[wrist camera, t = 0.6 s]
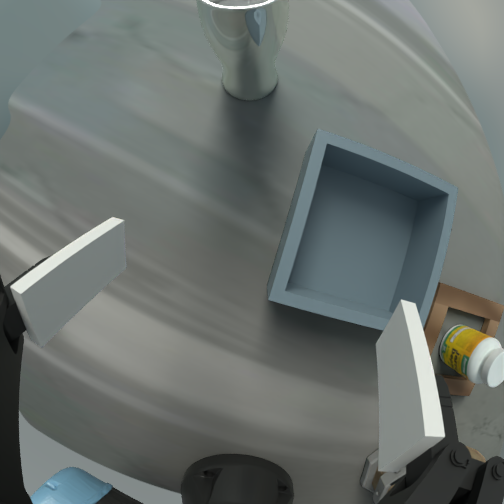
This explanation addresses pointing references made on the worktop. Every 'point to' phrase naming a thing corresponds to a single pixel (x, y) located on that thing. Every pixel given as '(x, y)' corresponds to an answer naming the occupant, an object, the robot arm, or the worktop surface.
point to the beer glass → (245, 42)
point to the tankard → (388, 475)
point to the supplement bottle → (473, 355)
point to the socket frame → (466, 303)
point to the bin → (362, 234)
